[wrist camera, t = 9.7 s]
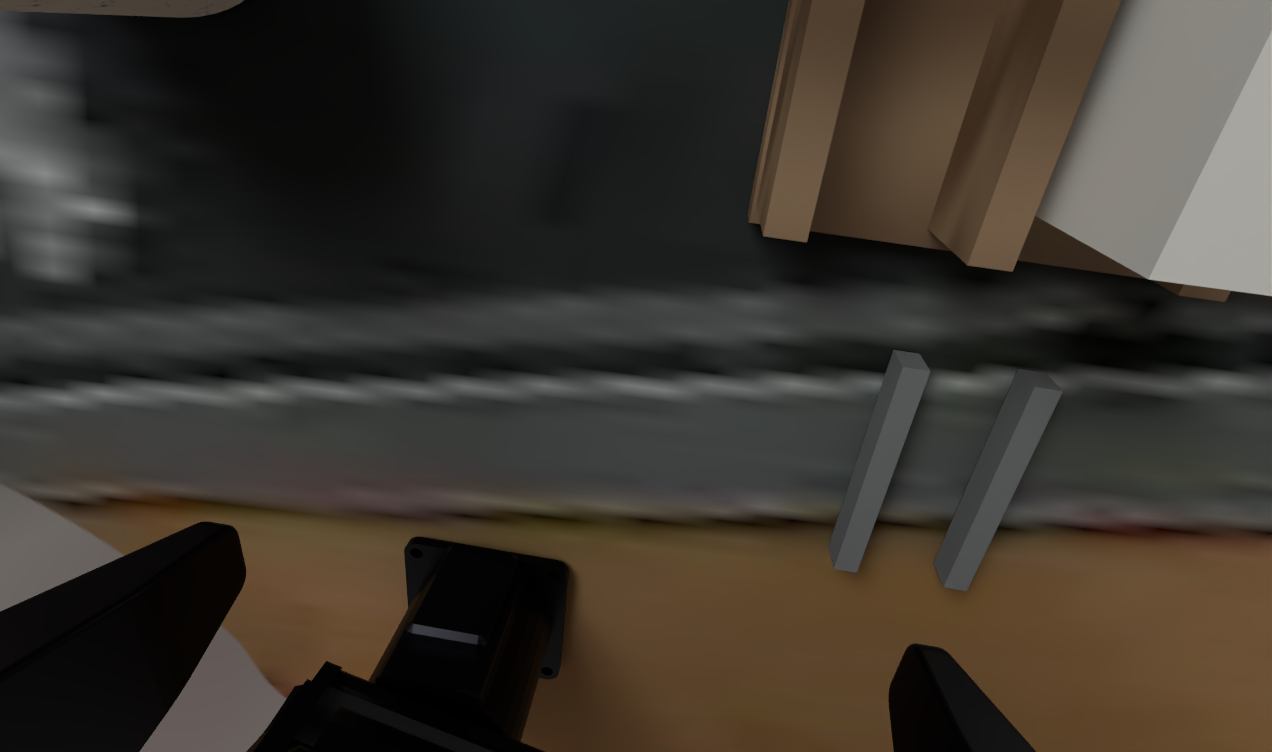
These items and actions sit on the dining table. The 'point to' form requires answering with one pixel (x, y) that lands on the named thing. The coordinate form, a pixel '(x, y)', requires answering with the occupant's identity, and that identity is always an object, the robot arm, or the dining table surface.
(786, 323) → the dining table surface
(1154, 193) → the upright white panel
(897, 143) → the rack
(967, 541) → the rails
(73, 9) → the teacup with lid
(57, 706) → the robot arm
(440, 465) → the dining table surface
